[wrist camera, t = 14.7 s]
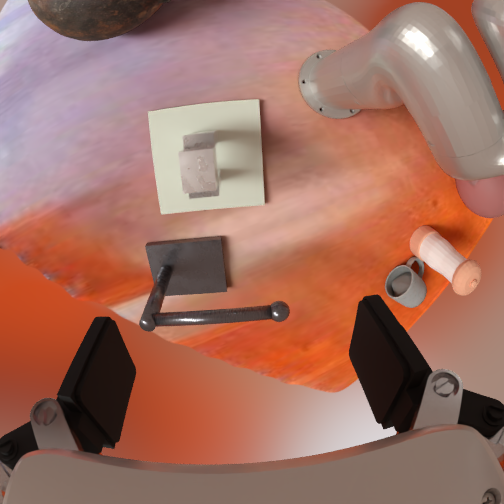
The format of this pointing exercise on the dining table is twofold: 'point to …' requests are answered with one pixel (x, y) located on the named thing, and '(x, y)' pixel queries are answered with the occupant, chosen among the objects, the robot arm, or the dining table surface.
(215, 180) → the stepped metal block
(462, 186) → the balloon
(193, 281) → the stand
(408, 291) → the ceramic mug
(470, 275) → the salt shaker
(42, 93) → the dining table surface
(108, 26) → the jug
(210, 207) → the mat
